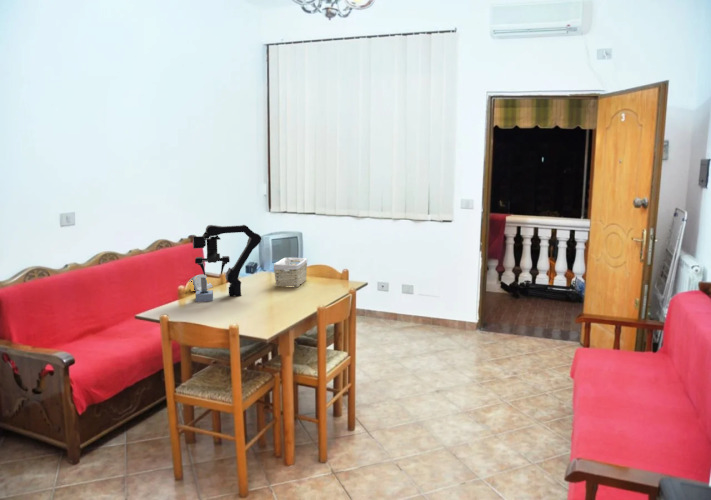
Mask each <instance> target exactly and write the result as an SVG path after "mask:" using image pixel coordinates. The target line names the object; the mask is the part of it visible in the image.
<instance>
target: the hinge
mask: <svg viewBox="0 0 711 500" xmlns="http://www.w3.org/2000/svg"><path fill="white" fill-rule="evenodd" d="M201 277H206V278H208V277H207V274H205V275H204V273H203V274H197V275H194V276H193V277H192V278H191V279H189V280H188V283H189V282H190V281H191V280H193V285H194V290H195V292H196V291H201ZM196 278H197V279H196ZM191 282H192V281H191ZM211 288H213V284H212V283H211V282H209V284H208V283H207V290H208V289H211Z"/></svg>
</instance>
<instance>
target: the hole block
mask: <svg viewBox="0 0 711 500" xmlns="http://www.w3.org/2000/svg"><path fill="white" fill-rule="evenodd" d="M213 301H214V290H213V289H211V290H208V289H207V293H203V294H202V292H201V291H195V302H197V303H198V302H199V303H201V302H213Z"/></svg>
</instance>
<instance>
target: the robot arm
mask: <svg viewBox="0 0 711 500" xmlns="http://www.w3.org/2000/svg"><path fill="white" fill-rule="evenodd" d="M234 233H244V234H245V235H246V236H247V237H248V239H247V242H246V246H245V248H244V249H243V251H242V252H241V254H240V255H239V257H238V259H237V260H236V262H235V264H234V265H233V267H228V269H227V271H226V272H225V279H226V280H227V282H228V283H229V287H228V295H229V297H240V296H241V297H242V289H241V288H242V282H241V280H240V279H239V276H240V274H241V273H240V272H241V270H242V268H243V267H244V265H245V263H246V262H247V260H248V259H249V256H250V255H251V253H252V251H253V250H254V249H255V248H257V246H258V245H259V244H260V243H261V241H262V236H261V235H260V234H259V233H256V232H254V231H253V230H252V229H250V228H249V226H247V225H246V224H242V225H224V226H222V225H216V224H215V225H213V224H209V225H207V226H206V228H205V231H204V232H203V234H202V236H201V235H200V236H196V235H194V236H192V248H193V249H195V250H196V249H204V248H205V247H206V258H205V257H204V258H203V256H196V257H195V259H194V263H195V264H197V266H200V268H201V270H202V272H203V274H204V275H206V269H205V264H204V262H205V263H208V264H210V263H215V264H216V263H217V262H221V269H220V274H221V275H223V272H224V268H225V266H226V265H227V264H228V263H230V262H231V261H230V260H231V259H230V256H229V255H225V256H224V255H222V257H221V254H220V253H218V241H219V240H221V237H220V235H223V234H234Z"/></svg>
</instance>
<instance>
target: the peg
mask: <svg viewBox="0 0 711 500" xmlns="http://www.w3.org/2000/svg"><path fill="white" fill-rule="evenodd" d="M207 291H208V289H207V280H206V277H201V292H202V294H203V293H207Z"/></svg>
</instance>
